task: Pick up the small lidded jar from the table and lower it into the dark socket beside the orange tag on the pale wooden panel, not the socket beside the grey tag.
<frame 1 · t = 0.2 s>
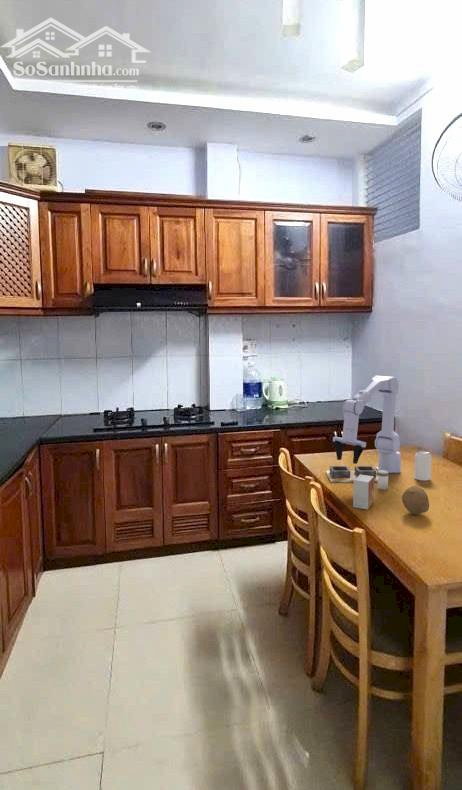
hand: (347, 461, 195), 10 cm above the table, tool pointing down, fingers open, 7 cm apart
small box: (363, 505, 175), on the table
can: (422, 479, 204), on the table
natural sponge: (414, 514, 166), on the table
socket panel: (352, 477, 207), on the table
small lidded jar: (382, 488, 193), on the table
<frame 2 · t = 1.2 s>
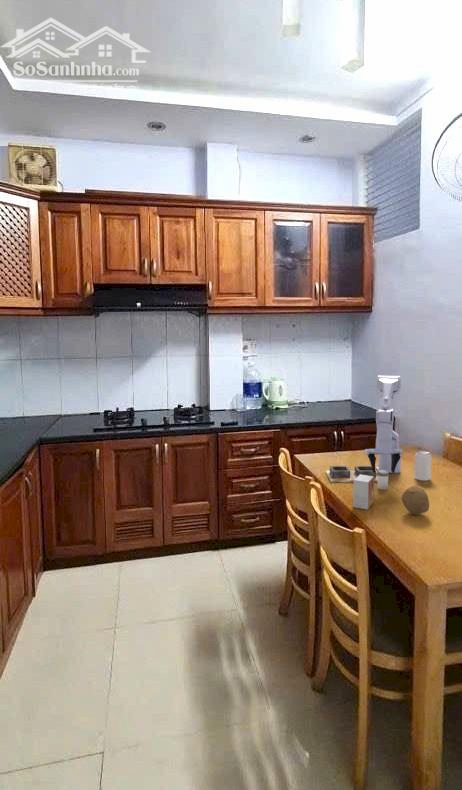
hand: (383, 471, 192), 7 cm above the table, tool pointing down, fingers open, 7 cm apart
nothing on the table moved.
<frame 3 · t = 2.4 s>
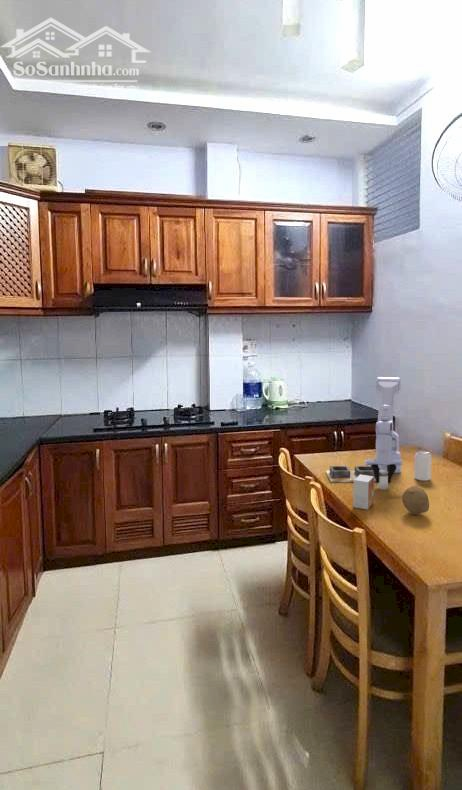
hand: (382, 482, 193), 2 cm above the table, tool pointing down, fingers closed on small lidded jar, 4 cm apart
small lidded jar: (382, 488, 193), on the table, touching gripper
everything else where it was.
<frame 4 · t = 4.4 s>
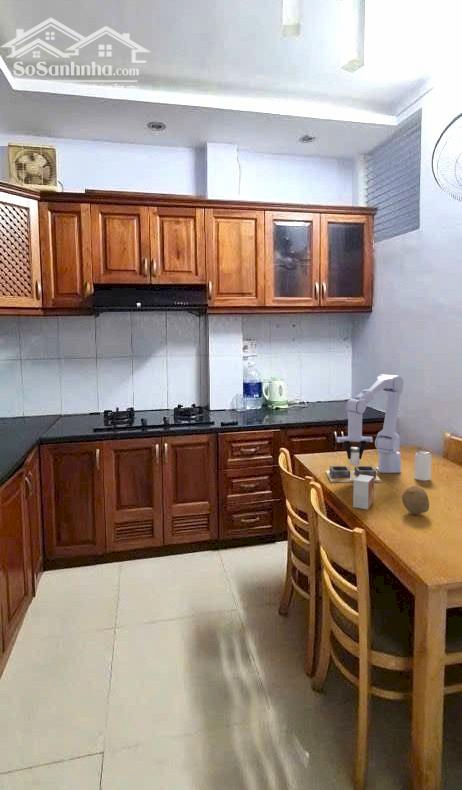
hand: (354, 458, 201), 10 cm above the table, tool pointing down, fingers closed on small lidded jar, 4 cm apart
small lidded jar: (354, 464, 201), point 7 cm above the table, touching gripper
everything else where it was.
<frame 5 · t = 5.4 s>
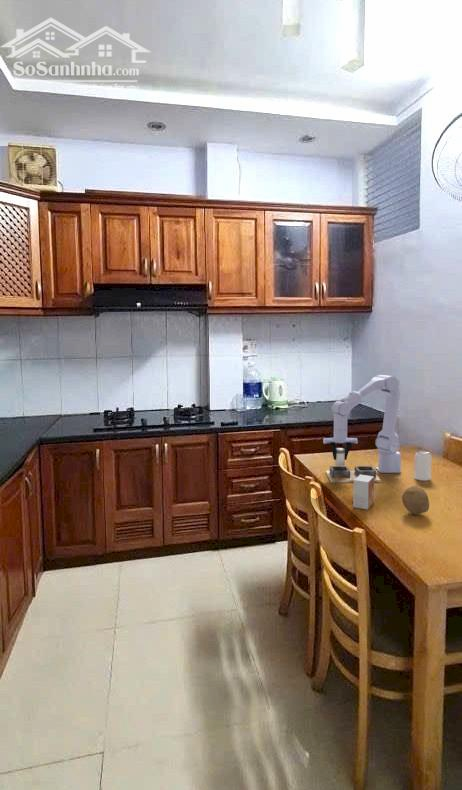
hand: (339, 459, 206), 8 cm above the table, tool pointing down, fingers closed on small lidded jar, 4 cm apart
small lidded jar: (339, 464, 207), point 6 cm above the table, touching gripper
everything else where it was.
when the fingers open (5 cm above the table, at t = 6.4 s): small lidded jar drops 2 cm, resting on socket panel.
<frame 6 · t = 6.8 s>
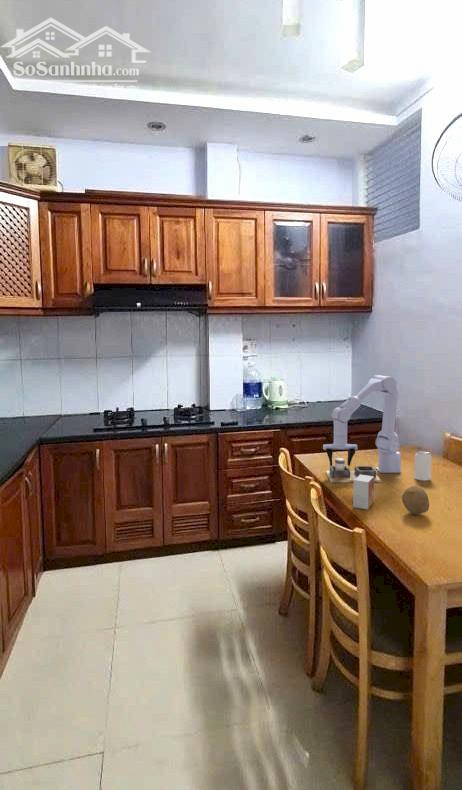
hand: (339, 465, 207), 5 cm above the table, tool pointing down, fingers open, 7 cm apart
small lidded jar: (339, 474, 207), point 1 cm above the table, touching socket panel
everything else where it was.
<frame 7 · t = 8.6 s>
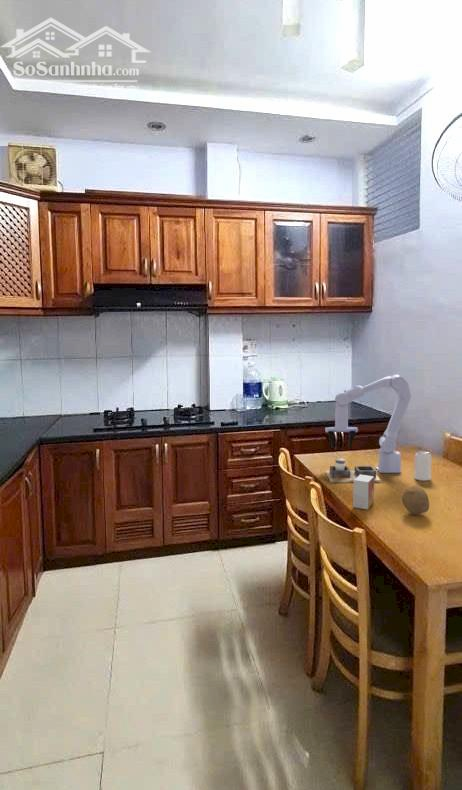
hand: (341, 447, 218), 10 cm above the table, tool pointing down, fingers open, 7 cm apart
nothing on the table moved.
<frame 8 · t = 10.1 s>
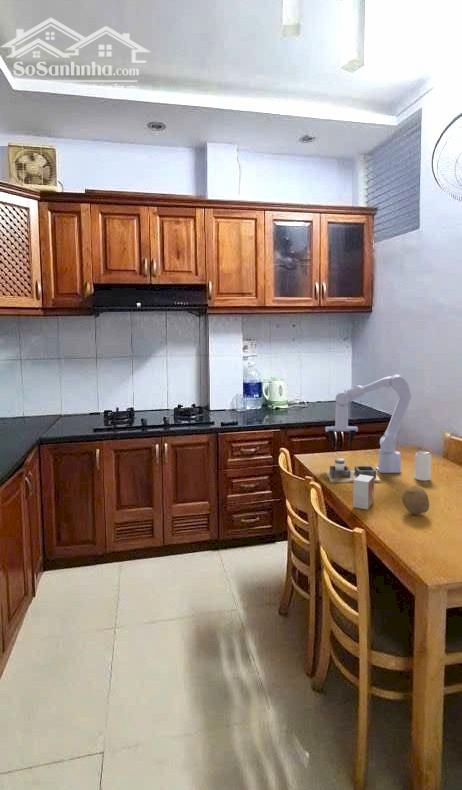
hand: (341, 446, 220), 10 cm above the table, tool pointing down, fingers open, 7 cm apart
nothing on the table moved.
at the end: small lidded jar 0.1 cm from the target spot on the socket panel, point 1.3 cm above the socket panel's base; small lidded jar tilted 2°; the gripper is holding nothing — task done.
